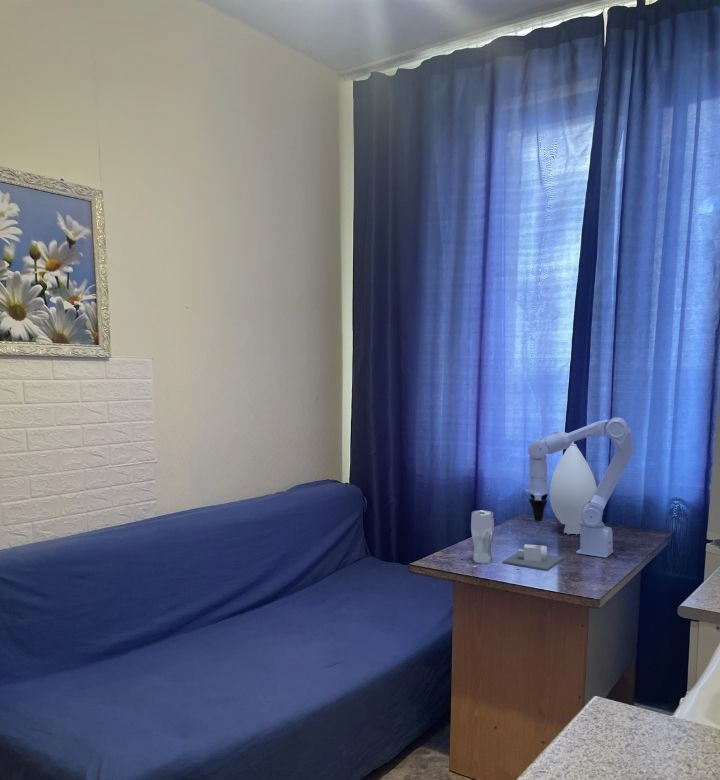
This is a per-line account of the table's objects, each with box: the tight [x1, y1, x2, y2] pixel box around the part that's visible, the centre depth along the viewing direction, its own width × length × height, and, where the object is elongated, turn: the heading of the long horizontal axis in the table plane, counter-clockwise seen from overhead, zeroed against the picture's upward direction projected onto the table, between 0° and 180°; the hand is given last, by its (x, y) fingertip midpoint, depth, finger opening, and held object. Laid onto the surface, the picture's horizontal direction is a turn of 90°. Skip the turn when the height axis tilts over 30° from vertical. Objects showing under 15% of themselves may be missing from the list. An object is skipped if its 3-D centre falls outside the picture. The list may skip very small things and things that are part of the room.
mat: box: [501, 551, 565, 572], centre depth 197 cm, size 14×14×1 cm
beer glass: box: [470, 509, 495, 565], centre depth 198 cm, size 7×7×15 cm
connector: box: [517, 543, 548, 562], centre depth 197 cm, size 8×4×4 cm, turn 73°
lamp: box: [549, 441, 598, 536], centre depth 230 cm, size 16×16×35 cm
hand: (538, 518), depth 211 cm, fingers open, 7 cm apart
